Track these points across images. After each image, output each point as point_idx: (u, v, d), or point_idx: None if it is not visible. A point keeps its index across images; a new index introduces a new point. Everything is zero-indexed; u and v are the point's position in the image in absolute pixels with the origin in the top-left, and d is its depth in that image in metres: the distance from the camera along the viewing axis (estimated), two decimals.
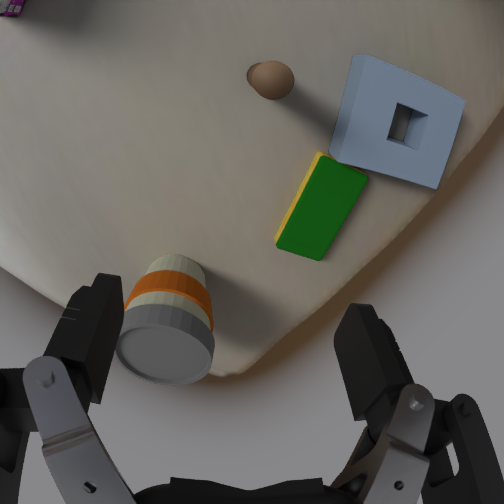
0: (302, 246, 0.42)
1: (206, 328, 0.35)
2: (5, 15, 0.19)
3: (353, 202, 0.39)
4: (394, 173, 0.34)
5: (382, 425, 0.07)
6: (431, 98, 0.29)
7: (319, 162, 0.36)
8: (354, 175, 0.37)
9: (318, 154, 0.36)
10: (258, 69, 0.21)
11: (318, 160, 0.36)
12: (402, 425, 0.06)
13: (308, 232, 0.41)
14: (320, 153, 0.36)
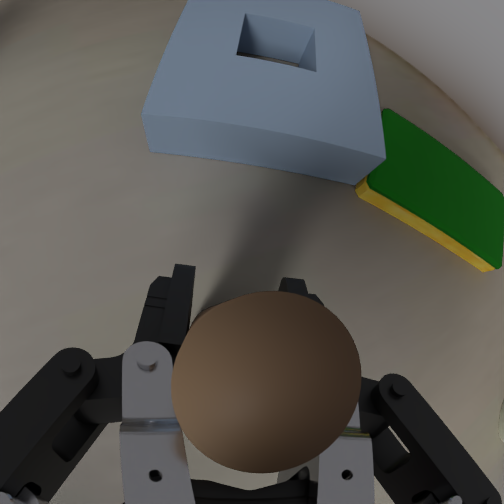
0: (495, 223, 0.19)
1: None
2: None
3: (427, 136, 0.19)
4: (367, 63, 0.17)
5: None
6: (212, 11, 0.16)
7: (381, 189, 0.18)
8: (389, 128, 0.19)
9: (363, 193, 0.19)
10: (226, 458, 0.04)
11: (377, 192, 0.18)
12: None
13: (480, 213, 0.19)
14: (360, 189, 0.19)
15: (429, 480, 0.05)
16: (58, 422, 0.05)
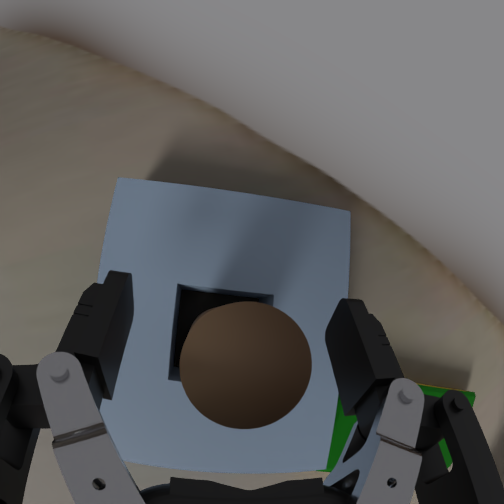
0: None
1: None
2: None
3: None
4: None
5: (371, 420, 0.08)
6: (133, 284, 0.15)
7: (325, 470, 0.16)
8: None
9: None
10: (216, 416, 0.07)
11: None
12: (392, 421, 0.06)
13: None
14: None
15: (461, 494, 0.05)
16: None
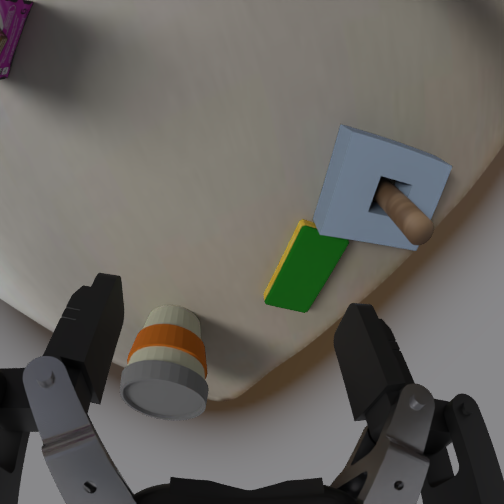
0: (288, 302, 0.46)
1: (200, 378, 0.39)
2: None
3: (334, 263, 0.43)
4: (374, 240, 0.38)
5: (382, 425, 0.07)
6: (416, 168, 0.33)
7: (300, 232, 0.40)
8: (335, 241, 0.41)
9: (300, 223, 0.40)
10: (414, 224, 0.28)
11: (300, 230, 0.40)
12: (402, 425, 0.06)
13: (293, 290, 0.45)
14: (302, 222, 0.40)
15: (465, 498, 0.05)
16: None
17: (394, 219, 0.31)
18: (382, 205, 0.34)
